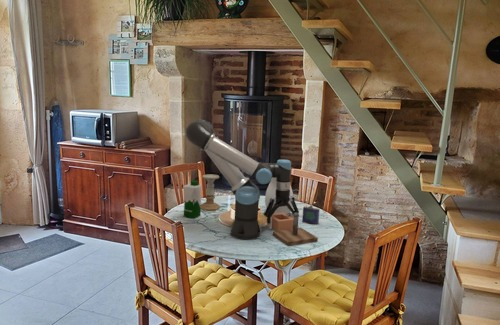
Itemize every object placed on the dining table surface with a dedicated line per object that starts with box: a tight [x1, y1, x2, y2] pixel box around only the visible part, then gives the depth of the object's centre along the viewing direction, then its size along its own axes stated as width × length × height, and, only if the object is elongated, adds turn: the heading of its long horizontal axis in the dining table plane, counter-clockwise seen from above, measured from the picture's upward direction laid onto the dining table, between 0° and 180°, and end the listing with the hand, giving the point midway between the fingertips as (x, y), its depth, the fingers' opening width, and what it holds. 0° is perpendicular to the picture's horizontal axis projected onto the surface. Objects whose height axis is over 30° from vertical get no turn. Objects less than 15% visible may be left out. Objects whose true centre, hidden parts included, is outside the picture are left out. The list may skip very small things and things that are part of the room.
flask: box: [301, 204, 320, 226], centre depth 210 cm, size 9×3×11 cm, turn 68°
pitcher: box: [264, 178, 294, 215], centre depth 227 cm, size 24×17×28 cm
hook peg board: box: [272, 212, 319, 247], centre depth 186 cm, size 17×15×13 cm
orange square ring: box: [266, 213, 293, 231], centre depth 201 cm, size 10×12×6 cm
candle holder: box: [201, 173, 221, 212], centre depth 229 cm, size 12×12×20 cm
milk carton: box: [182, 180, 202, 220], centre depth 212 cm, size 9×9×20 cm
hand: (280, 227), depth 202 cm, fingers open, 13 cm apart
